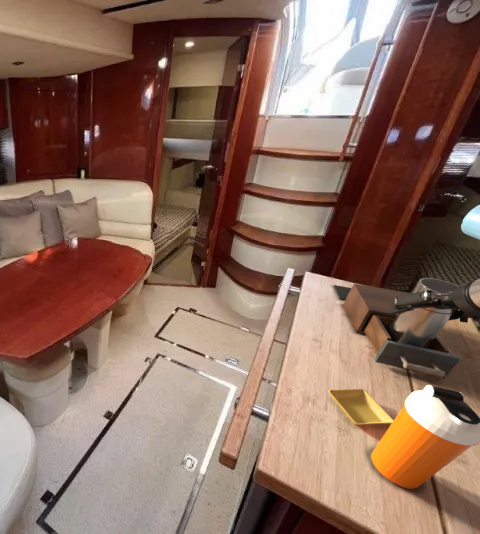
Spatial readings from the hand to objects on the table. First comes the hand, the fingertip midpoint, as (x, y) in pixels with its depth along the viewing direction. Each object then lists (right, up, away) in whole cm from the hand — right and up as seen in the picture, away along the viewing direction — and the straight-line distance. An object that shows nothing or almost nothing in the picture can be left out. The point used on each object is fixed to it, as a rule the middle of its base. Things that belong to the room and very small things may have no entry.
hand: (413, 312), depth 81 cm
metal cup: (-1, -7, +1) cm, 7 cm away
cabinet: (+4, -6, +14) cm, 16 cm away
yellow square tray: (-25, -21, -11) cm, 35 cm away
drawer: (-2, -12, +1) cm, 12 cm away
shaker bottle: (-28, -27, -22) cm, 44 cm away
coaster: (+8, +2, +27) cm, 28 cm away
